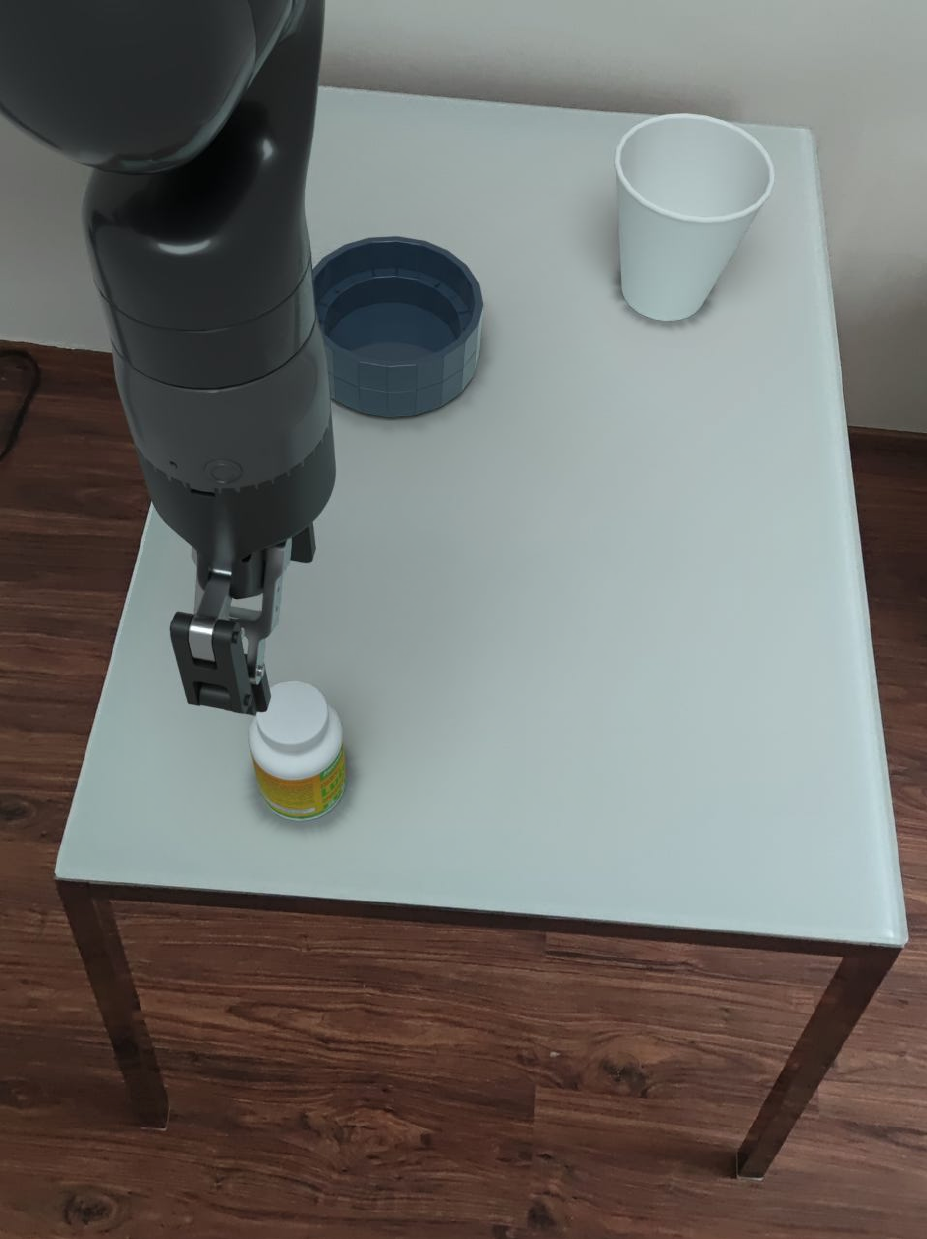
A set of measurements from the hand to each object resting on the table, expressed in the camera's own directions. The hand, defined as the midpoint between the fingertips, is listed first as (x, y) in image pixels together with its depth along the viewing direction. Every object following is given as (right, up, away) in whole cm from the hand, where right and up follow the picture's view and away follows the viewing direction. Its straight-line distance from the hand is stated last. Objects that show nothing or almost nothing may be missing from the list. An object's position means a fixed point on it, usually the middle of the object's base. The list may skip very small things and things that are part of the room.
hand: (271, 627), depth 59 cm
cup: (+26, +27, +40) cm, 55 cm away
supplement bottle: (-1, -10, +17) cm, 19 cm away
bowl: (+4, +21, +35) cm, 41 cm away
